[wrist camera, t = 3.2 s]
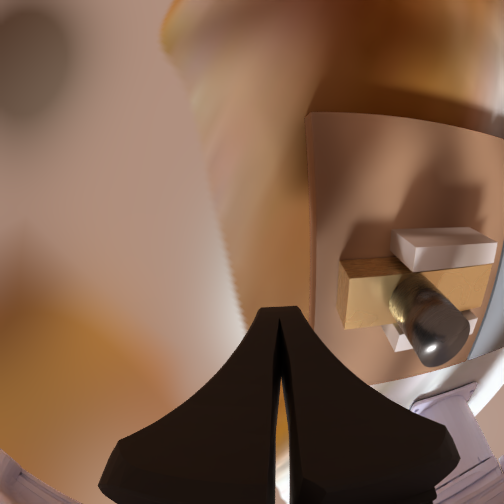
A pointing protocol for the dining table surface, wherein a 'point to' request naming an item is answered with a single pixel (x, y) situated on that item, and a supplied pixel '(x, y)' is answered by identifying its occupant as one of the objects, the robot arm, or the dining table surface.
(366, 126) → the two-tone tabbed panel
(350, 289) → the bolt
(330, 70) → the dining table surface
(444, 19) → the dining table surface
